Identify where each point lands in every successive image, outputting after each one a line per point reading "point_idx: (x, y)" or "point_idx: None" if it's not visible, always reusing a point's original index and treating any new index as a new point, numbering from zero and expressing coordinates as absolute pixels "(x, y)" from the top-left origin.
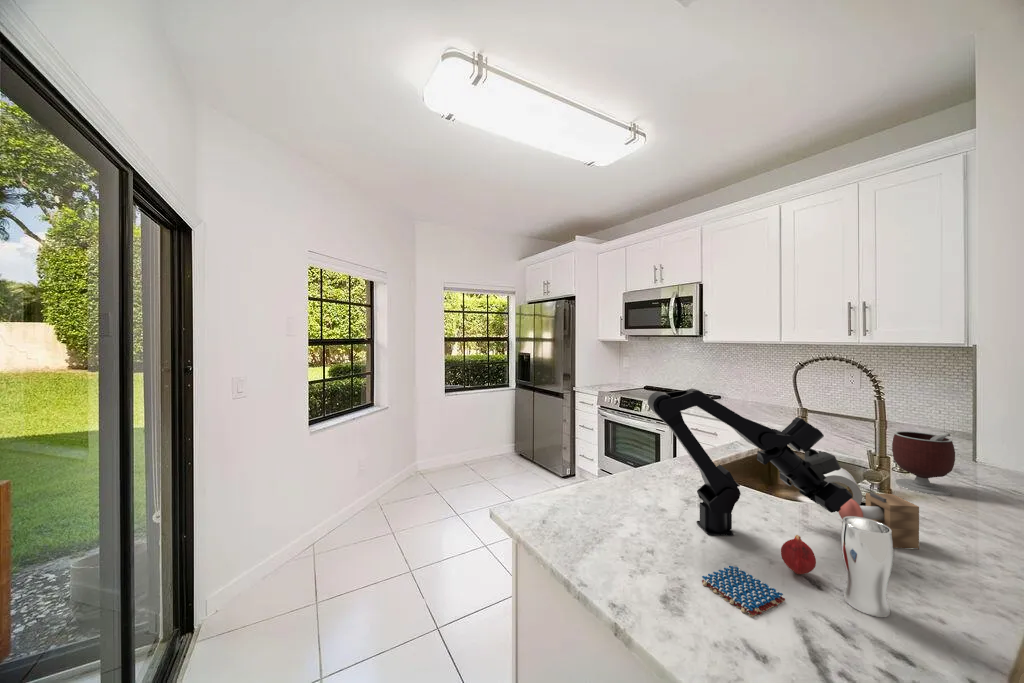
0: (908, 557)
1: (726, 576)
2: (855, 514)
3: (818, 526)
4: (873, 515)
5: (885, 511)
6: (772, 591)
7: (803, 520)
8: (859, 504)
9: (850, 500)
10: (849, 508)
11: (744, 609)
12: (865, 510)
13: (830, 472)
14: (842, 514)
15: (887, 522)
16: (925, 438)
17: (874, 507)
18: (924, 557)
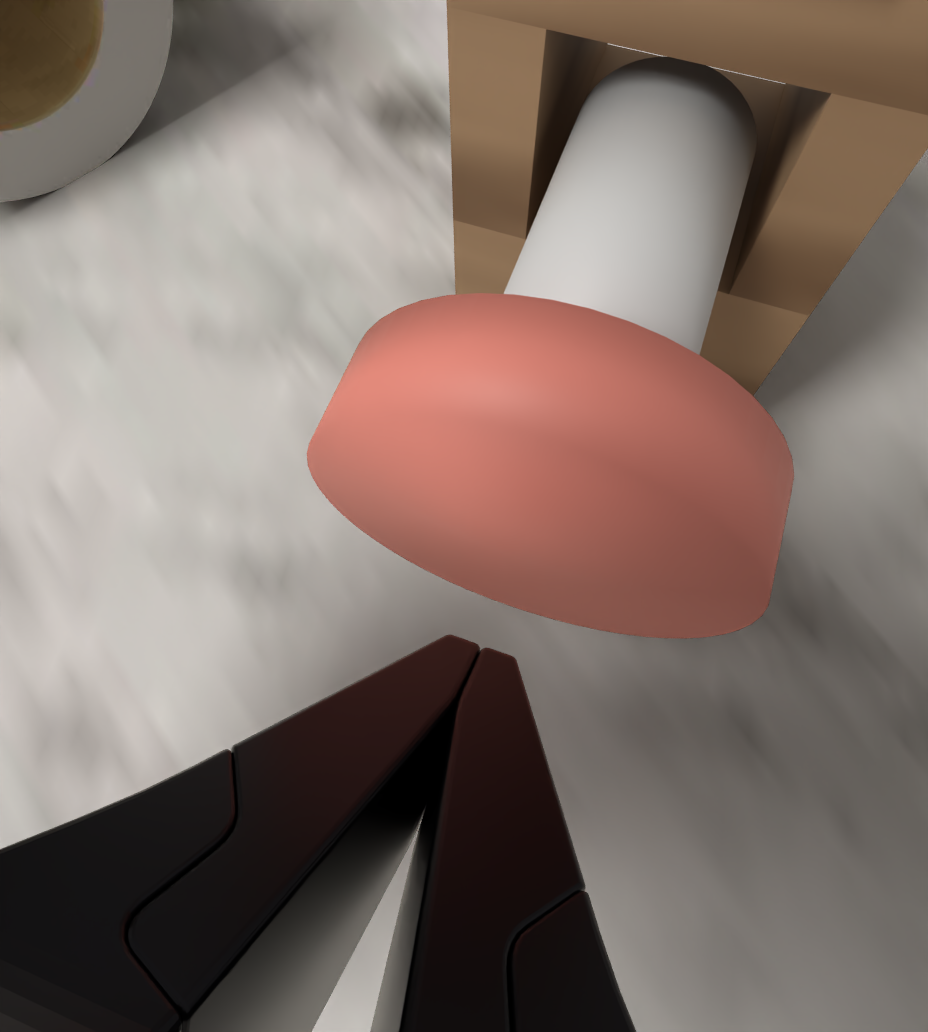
0: (888, 458)
1: None
2: (749, 604)
3: (224, 700)
4: (715, 296)
5: (829, 134)
6: None
7: (56, 734)
8: (170, 10)
9: (609, 405)
10: (608, 540)
11: None
12: (692, 328)
13: None
14: (430, 548)
15: (800, 266)
16: None
17: (683, 144)
18: (887, 338)
